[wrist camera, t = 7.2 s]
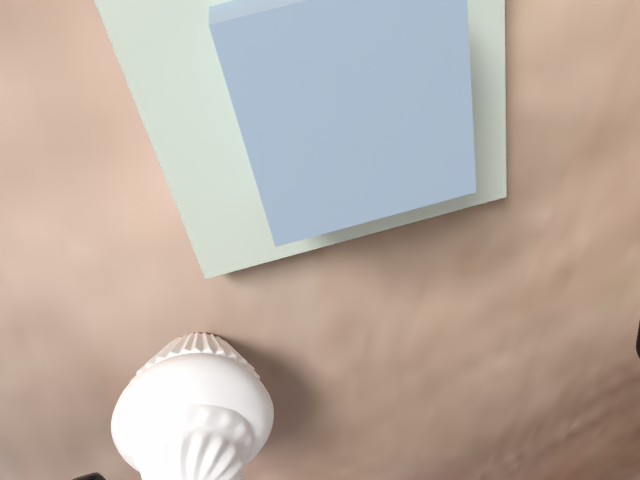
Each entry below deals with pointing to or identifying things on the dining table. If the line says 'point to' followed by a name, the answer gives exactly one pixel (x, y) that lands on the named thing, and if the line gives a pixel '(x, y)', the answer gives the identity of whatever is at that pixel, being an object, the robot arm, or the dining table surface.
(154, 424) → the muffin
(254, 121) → the brick
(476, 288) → the dining table surface
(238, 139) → the pale green square slab
